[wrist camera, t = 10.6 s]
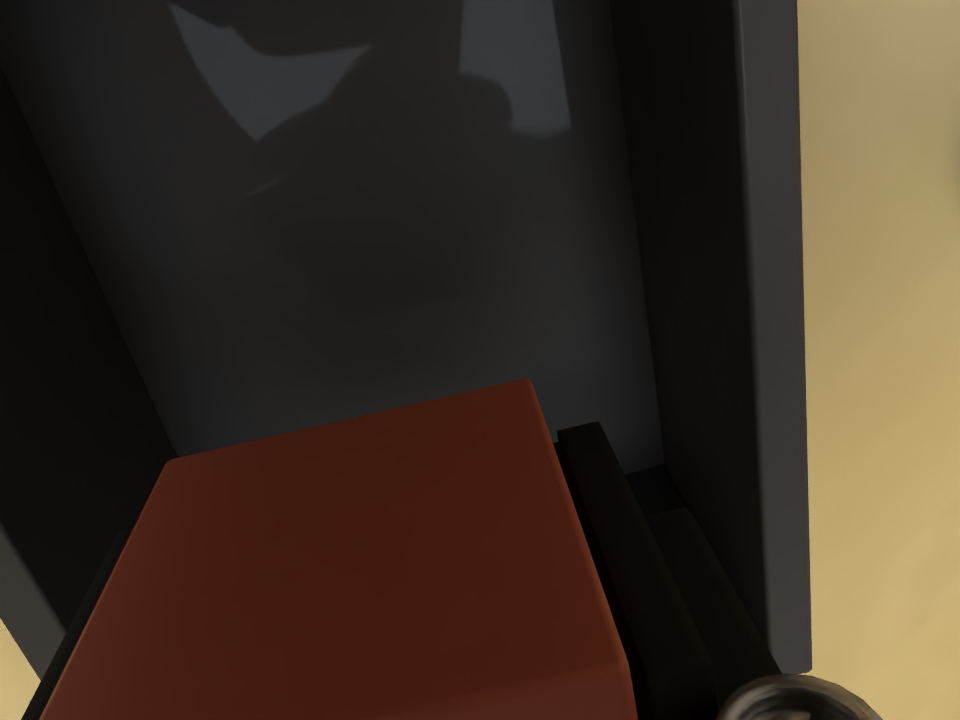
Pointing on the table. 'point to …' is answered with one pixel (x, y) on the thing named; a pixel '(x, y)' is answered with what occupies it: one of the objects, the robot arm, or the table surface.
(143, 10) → the case
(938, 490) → the table surface
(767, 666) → the robot arm
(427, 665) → the block
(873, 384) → the table surface
